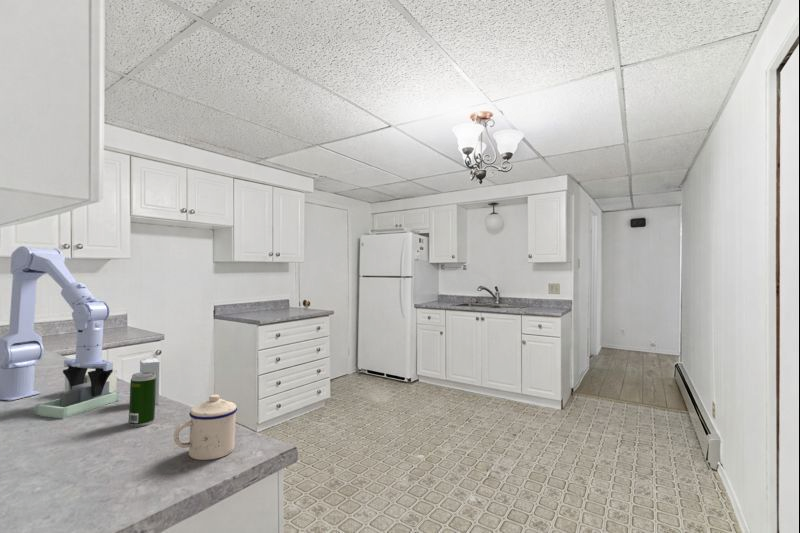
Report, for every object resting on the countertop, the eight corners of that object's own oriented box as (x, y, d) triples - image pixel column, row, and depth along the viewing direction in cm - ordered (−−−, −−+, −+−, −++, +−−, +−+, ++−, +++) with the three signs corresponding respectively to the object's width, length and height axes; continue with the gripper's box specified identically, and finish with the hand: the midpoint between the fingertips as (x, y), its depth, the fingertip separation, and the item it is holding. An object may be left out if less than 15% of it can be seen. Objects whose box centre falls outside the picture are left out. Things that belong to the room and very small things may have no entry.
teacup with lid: (224, 439, 89) (227, 387, 89) (242, 452, 83) (245, 396, 83) (165, 455, 80) (168, 397, 81) (180, 471, 74) (183, 408, 74)
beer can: (146, 427, 94) (148, 377, 95) (123, 427, 94) (125, 376, 94) (158, 419, 100) (161, 371, 100) (137, 419, 99) (139, 371, 100)
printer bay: (64, 394, 117) (65, 372, 117) (91, 387, 125) (92, 367, 125) (90, 397, 115) (91, 375, 115) (116, 390, 123) (117, 369, 123)
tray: (34, 415, 100) (35, 405, 100) (92, 398, 115) (92, 389, 115) (63, 418, 98) (63, 408, 98) (118, 400, 113) (118, 392, 113)
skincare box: (159, 404, 111) (161, 361, 111) (140, 407, 108) (142, 363, 109) (156, 399, 116) (158, 357, 116) (137, 401, 113) (139, 359, 113)
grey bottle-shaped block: (55, 409, 103) (56, 390, 103) (95, 397, 114) (96, 380, 114) (68, 411, 102) (69, 392, 102) (108, 399, 113) (109, 381, 113)
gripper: (53, 345, 107) (50, 396, 106) (96, 349, 104) (93, 401, 103) (79, 342, 114) (77, 389, 113) (120, 345, 111) (118, 393, 110)
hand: (86, 394), depth 109 cm, fingers open, 6 cm apart
